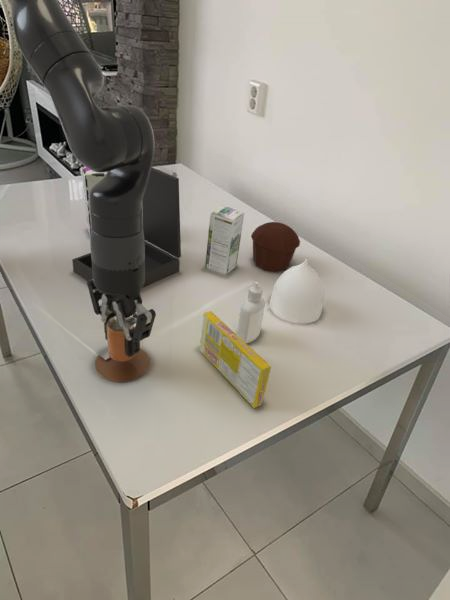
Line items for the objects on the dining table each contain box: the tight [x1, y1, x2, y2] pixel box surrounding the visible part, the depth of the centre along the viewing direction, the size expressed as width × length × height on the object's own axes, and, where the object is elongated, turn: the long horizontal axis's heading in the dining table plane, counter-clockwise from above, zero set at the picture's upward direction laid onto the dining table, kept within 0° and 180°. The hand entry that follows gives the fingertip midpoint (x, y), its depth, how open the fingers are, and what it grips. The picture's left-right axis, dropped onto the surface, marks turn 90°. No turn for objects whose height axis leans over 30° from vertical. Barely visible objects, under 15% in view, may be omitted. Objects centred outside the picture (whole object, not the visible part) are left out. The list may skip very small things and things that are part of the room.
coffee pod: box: [107, 316, 136, 361], centre depth 73 cm, size 5×5×6 cm
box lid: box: [142, 165, 182, 259], centre depth 99 cm, size 18×15×5 cm
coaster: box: [94, 348, 150, 383], centre depth 76 cm, size 9×9×1 cm
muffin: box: [251, 221, 301, 273], centre depth 108 cm, size 12×11×10 cm
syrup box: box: [204, 205, 245, 276], centre depth 102 cm, size 6×6×14 cm
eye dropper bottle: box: [236, 281, 266, 345], centre depth 83 cm, size 4×6×12 cm
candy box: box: [199, 311, 272, 409], centre depth 74 cm, size 16×2×8 cm, turn 35°
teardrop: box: [269, 258, 326, 325], centre depth 92 cm, size 11×11×12 cm
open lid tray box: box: [71, 240, 181, 289], centre depth 99 cm, size 18×15×4 cm
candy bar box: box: [81, 167, 107, 237], centre depth 111 cm, size 11×5×16 cm, turn 114°
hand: (122, 345), depth 74 cm, fingers closed on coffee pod, 4 cm apart
